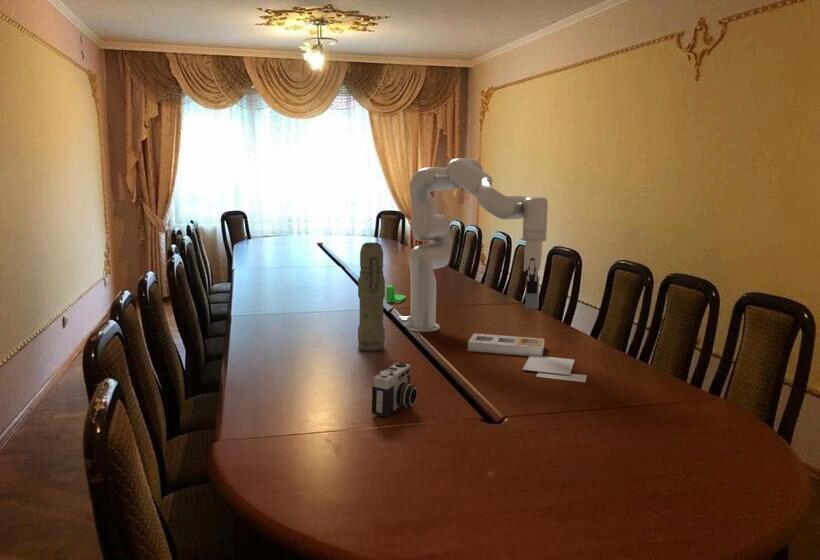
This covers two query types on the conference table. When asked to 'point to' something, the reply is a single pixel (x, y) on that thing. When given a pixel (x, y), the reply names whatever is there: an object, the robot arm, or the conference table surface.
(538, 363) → the paper stack
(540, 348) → the white compartment tray
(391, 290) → the mechanical part
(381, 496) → the conference table surface
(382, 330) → the stone statue
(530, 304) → the peg
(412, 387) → the camera
